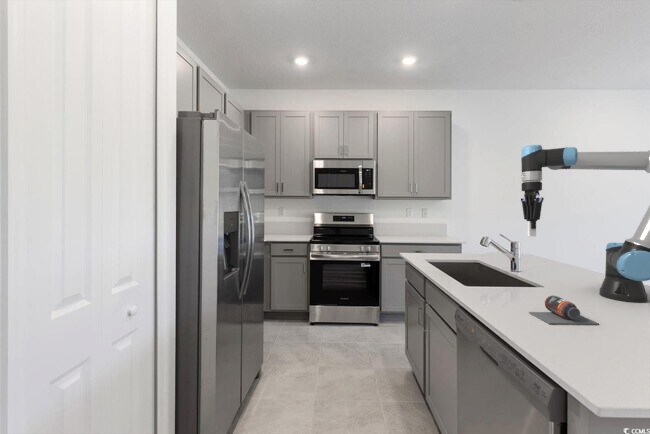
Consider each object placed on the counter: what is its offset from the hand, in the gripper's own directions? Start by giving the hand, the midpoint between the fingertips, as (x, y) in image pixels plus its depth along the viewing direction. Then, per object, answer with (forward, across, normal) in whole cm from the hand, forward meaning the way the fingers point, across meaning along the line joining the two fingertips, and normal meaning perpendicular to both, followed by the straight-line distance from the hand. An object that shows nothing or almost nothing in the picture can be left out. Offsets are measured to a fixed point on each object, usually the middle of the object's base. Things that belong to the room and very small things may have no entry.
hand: (531, 236), depth 143 cm
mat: (+26, +31, -7) cm, 41 cm away
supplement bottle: (+22, +24, -7) cm, 33 cm away
